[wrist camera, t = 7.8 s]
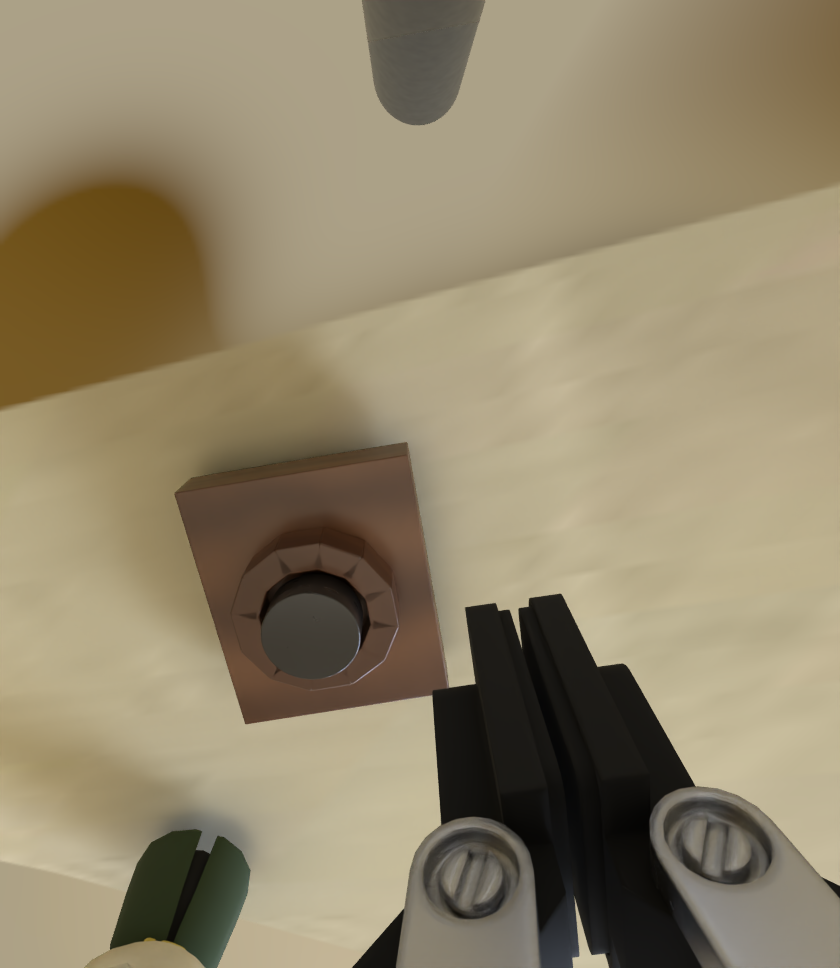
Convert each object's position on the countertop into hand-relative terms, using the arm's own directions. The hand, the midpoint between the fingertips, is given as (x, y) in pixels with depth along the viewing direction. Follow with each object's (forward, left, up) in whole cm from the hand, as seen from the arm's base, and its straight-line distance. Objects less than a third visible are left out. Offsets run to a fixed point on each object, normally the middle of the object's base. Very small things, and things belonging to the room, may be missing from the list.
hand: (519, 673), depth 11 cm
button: (+6, -7, -14) cm, 17 cm away
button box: (+6, -7, -18) cm, 20 cm away
